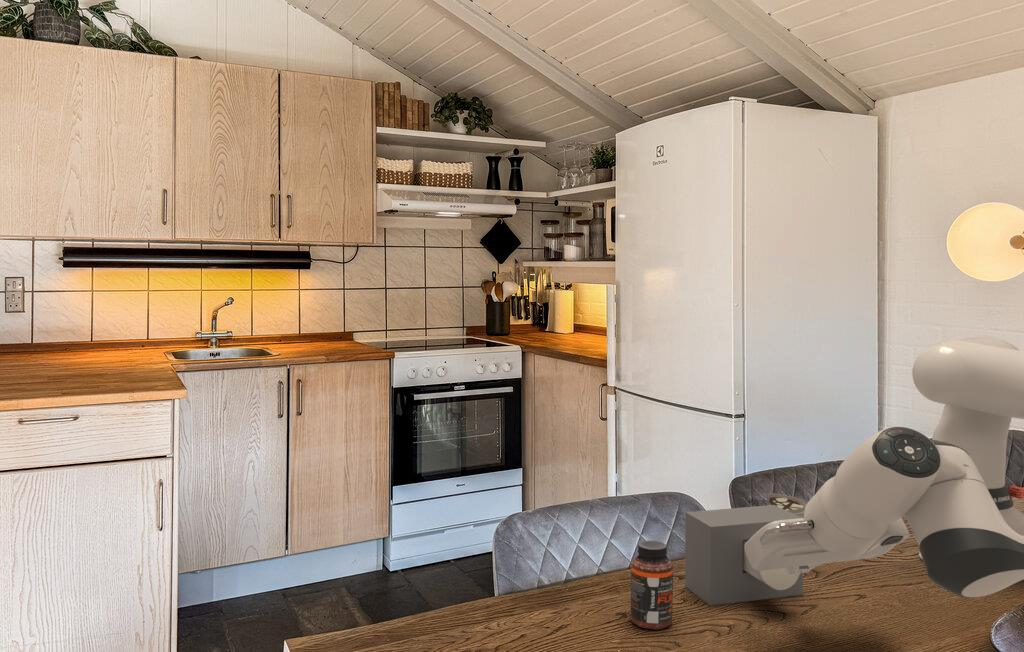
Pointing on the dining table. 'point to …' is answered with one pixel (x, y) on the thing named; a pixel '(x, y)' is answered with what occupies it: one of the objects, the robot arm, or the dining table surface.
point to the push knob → (770, 574)
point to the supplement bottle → (651, 586)
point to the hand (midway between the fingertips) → (795, 568)
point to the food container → (788, 503)
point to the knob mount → (728, 554)
